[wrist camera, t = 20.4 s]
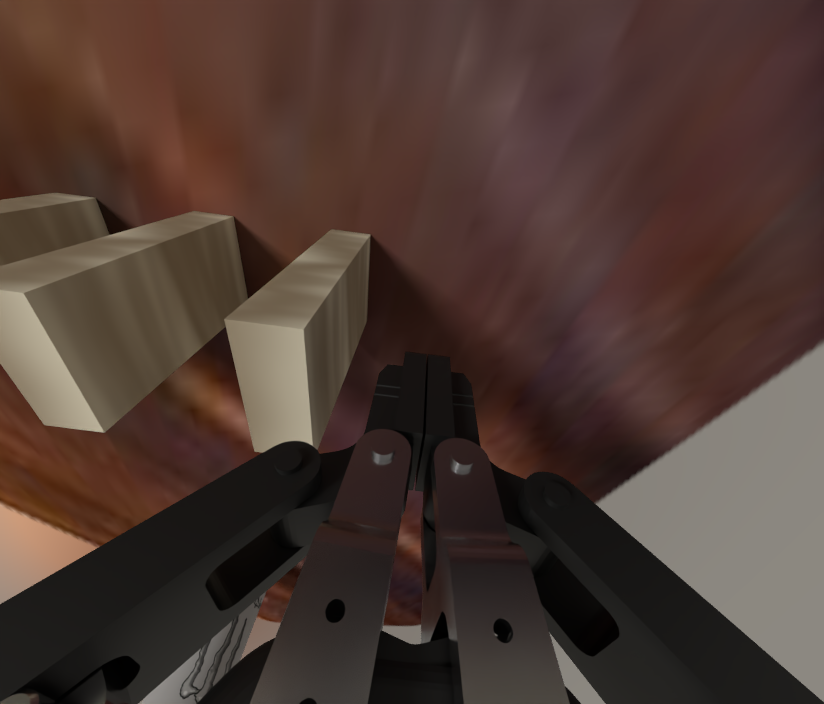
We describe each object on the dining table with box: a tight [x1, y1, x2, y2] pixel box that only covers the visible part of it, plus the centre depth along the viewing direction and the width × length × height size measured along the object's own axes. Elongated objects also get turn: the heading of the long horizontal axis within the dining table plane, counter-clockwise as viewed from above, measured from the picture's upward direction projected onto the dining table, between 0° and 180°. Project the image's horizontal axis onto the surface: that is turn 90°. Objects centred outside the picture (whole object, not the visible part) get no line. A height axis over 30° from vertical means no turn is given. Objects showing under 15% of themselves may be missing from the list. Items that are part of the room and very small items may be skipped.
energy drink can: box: [142, 592, 266, 704], centre depth 30 cm, size 6×6×15 cm
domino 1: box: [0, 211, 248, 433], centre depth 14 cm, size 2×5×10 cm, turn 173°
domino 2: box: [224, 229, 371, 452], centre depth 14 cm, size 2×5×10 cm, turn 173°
